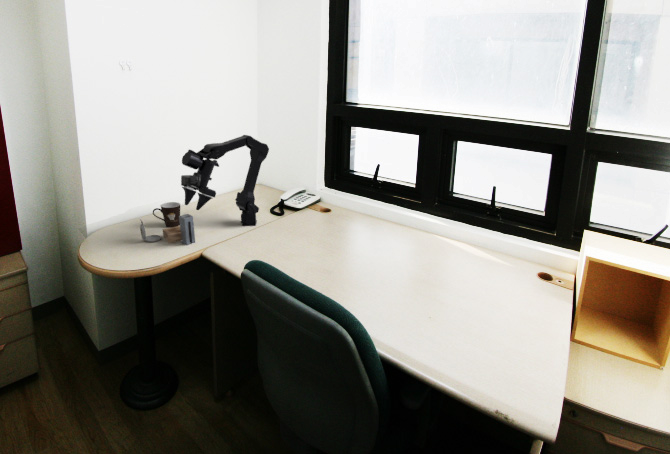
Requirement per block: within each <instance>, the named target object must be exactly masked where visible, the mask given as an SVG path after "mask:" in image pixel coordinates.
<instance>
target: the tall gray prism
mask: <svg viewBox="0 0 670 454" xmlns="http://www.w3.org/2000/svg"><path fill="white" fill-rule="evenodd" d="M179 221H180V225H179V226H180V231H181V241H180V242H181V243H182V244H183V243H184V245H185V244H186V246H190V244H192V243H193V244H195V243H196V238H195V237H196V235H195V227H194V225H195V224H194V216H193V215H191V214H189V213H186V214H185V213H184V214H182V215H180V216H179ZM190 242H191V243H190Z"/></svg>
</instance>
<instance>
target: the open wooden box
mask: <svg viewBox="0 0 670 454" xmlns="http://www.w3.org/2000/svg"><path fill="white" fill-rule="evenodd" d="M162 236H163V238H164V239H165V240H166V242H168V243H169V244H172V243H177V241H178V242H182V241H181V231H180V225H179V226H177V227H171V228H170V227H165V228H162Z"/></svg>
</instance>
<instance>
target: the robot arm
mask: <svg viewBox="0 0 670 454" xmlns="http://www.w3.org/2000/svg"><path fill="white" fill-rule="evenodd" d="M243 147H247V148H248V149H249V155H250V162H249V166H248V170H247V174H246V177H245V181H244V185H243V189H242V190H241V192H240V191H238V192H237V194H236V198H235V204H236V207H238V209H239V211H241V214H240V223H241V226H247V227H248V226H251V227H252V226H253V227H254V226H256V225H257V222H258V220H257V213H259V210H260V208H259V207H258V206H257V204H255V200H256V199H255V192H254V191H255V188H256V185H257V181H258V177H259V173H260V169H261V166H262V163H263V162H264V161H265V159H267V156H268V155H269V152H270V151H269V150H270V148H269V146H268V144H267V143H263V142H260V141H259V140H258V139H256V138H254V137H252V136H251V135H248V134H243V135H241V136H238V137H235V138H233V139H230V140H226V141H223V142H219V143H218V142H217V143H216V142H213V143H207V144H204V146H203V148H202V149H200V150H199V151H197V152H195V151H194V150H192V149H187V152H186V153H185V154H183V156H182V158H181V164H182V165H183V166H185V167H187V168H190V169H194V170H197V171H195V172H194V173H193V174H192V175H191V174H189V175H188V174H186V175H181V176H180V178H181V179H180V186H181V188H182V189H183V190H184V205H185V206H188V205H189V204H190V203H191V201H192V199H193V198H194V197H195V195H196V194H197V195H198V200H197V204H196V207H195V210H197V211H199V210H200V209H202V207H204V205H206V204H207V203H208V202H209V201H210V200H211V199H213V198H216V195H217V192H216V190H214V189H211V188H209V187H208V184H209V181H212V179H213V177H211V175H212V173H213V171H214V168H215V167H217V168H218V167H220V164H219V163H218V159H220V158H222V157H224V156H225V154H227V153H228V152H230V151H231V152H232V151H234V150H236V149H239V148H243ZM197 191H198V192H197Z"/></svg>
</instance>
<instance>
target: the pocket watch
mask: <svg viewBox="0 0 670 454" xmlns="http://www.w3.org/2000/svg"><path fill="white" fill-rule="evenodd" d="M139 219H140V218H139ZM139 225H140V226H139V228H140V235H141V239H142V240H144V241H145V242H147V243H153V242H157V241H160V240H161V238H162V237H161V235H159V234H151V235H147V234H146V230H145V229H146V228H145V225H144V222H143V221H142V219H140V224H139Z"/></svg>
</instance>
